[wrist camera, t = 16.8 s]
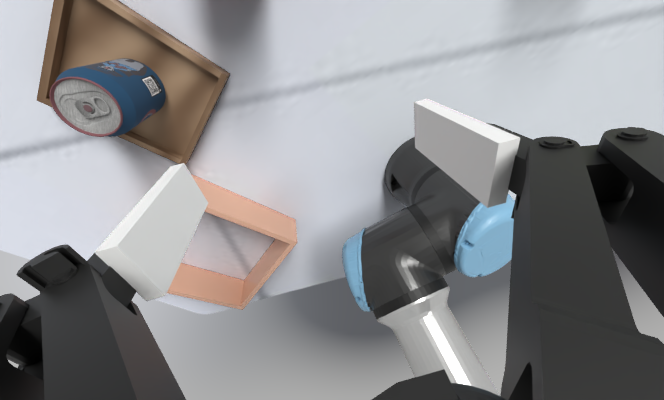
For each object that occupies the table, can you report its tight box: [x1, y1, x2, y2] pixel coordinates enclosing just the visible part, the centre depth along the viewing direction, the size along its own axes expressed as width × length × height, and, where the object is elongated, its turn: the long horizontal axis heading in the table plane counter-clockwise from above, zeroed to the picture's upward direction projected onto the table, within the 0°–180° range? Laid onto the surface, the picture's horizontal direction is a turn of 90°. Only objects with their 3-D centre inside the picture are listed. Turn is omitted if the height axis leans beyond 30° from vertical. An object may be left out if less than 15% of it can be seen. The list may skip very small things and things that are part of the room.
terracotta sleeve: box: [167, 174, 297, 310], centre depth 50 cm, size 23×23×7 cm
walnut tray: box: [37, 0, 230, 165], centre depth 34 cm, size 18×16×2 cm
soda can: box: [49, 58, 166, 137], centre depth 30 cm, size 7×7×12 cm
